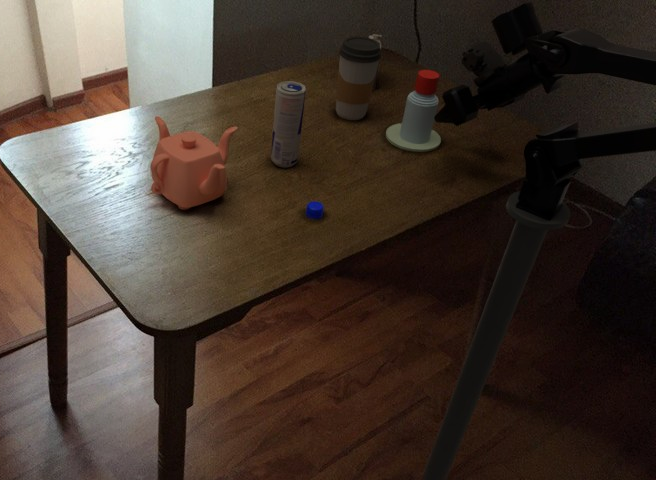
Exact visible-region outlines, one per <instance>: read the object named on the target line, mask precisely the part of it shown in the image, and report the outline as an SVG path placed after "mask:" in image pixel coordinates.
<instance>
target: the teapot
mask: <svg viewBox="0 0 656 480" xmlns="http://www.w3.org/2000/svg"><path fill="white" fill-rule="evenodd" d="M154 120H155V122H156V124H157V127H158V132H159V137H158V139H159V140H158V142H157V143H156V147H155V149H154V153H153V157H152V160H151V162H150V166H149V167H150V172H151V173H150V174H151V179H152V182H153V183H151V187H150V190H151V191H152V193H153V194H155V195H161V194H162V196H164V198H166V199H167V200H169V201H170V202H172V203H174V204H175V205H177V207H178V209H180V210H182V211H183V210H184V211H185V210H190V209H191V208H193V207H196V206H200V205H203V204H205V203H208V202H212V201H214V200H217V199H218V198H220V197H222V196H223V195H224V193H225V191H226V189H227V186H228V178H227V177H228V176H227V171H226V163H227V160H228V157H229V149H230V141H231V138H232V136H233V134H234V133H235V132H236V131H237V130H238V126H231V127H229V128H227V129H226V130H225V131H224V132H223V134H222V135H221V137H220V140H219V142H218V145H216V144H215V143H214V142H212V141H211V140H210V139H209V138H207V137H205V136H204V135H203V134H201V133H199V132H196V131H193V130H188V131H184V132H180V133H176V134H173V135H171V133H170V131H169V128H168V126H167V124H166V122H165V120H164V119H163V118H162V117H160V116H157V115H155V116H154Z"/></svg>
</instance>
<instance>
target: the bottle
mask: <svg viewBox="0 0 656 480" xmlns="http://www.w3.org/2000/svg"><path fill="white" fill-rule="evenodd" d="M438 106H439V98H438V96H437V95H436V93H435V94H433V95H423V94H420V93H418V92H416V91H415V90H413V91H411V92H410V93H409V94H407V98H406V102H405V107H404V112H403V117H402V120H401V123H402V125H401V130H400V137H401V138H402V139H403V140H405V141H407V142H410V143H416V144H422V143H426V142H428V141H429V139H430V135H431V131H432V130H433V127H434V122H435V119H434V117H435V115H436V114H437V111H438Z"/></svg>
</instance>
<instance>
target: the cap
mask: <svg viewBox="0 0 656 480" xmlns="http://www.w3.org/2000/svg"><path fill="white" fill-rule="evenodd" d="M439 79H440V74H439V73H438V72H437V71H434V70H431V69H421V70H419V71H418V73H417V76H416V80H415V86H414V91H416V92H418V93H420V94H423V95H433V94H435V95H436V92H437V88H438V85H439Z"/></svg>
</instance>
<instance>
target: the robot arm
mask: <svg viewBox="0 0 656 480" xmlns="http://www.w3.org/2000/svg"><path fill="white" fill-rule="evenodd" d="M490 23H491V25H492V27H493V30H494V32H495V35H496V37H497V39H498V42H499V44H500V47H501V49H502V51H503V53H504V54H505V56H506V55H509V54H511V56H513V57H514V56H517V55H520V54H521V53H523V52H526V51H527V53H525V54H523V55H521V56H520V57H518V58H516V59H514V60H512V61H509V62H507V63H506V62H505V61H504V60H503V57H502V55H501V54H500V53H499V52H498V51H497V50H496V48H494V47H493V46H492V44H491V43H490V42H489V41H486V40H485V41H480V42H478V43H475V44H472V45H471V47H469V48H468V49H467V50H466V51H463V52H462V58H461V64H462V65H463V67H464V68H465V69H466V71H468V72H470V73H471V72H472V73H473V74H474V75H475V76H476V77H475V78H473V82H474V85H475V87H477V88H476V90H477V94H475V95H473V93H472V91H471V89H470V87H469V86H468V85H466V84H463V83H462V84H460V85H456V86H453V87H451V88H449V89H448V90H445V91H444V92H442V95H441V98H442V100H443V102H444V105H443V107H441V108H440V110H439V111H438V112H436V115H435V117H434V122H435V123H437V124H438V123H439V124H440V123H441V124H453V125H454V126H456V127H458V126H461V125H463V124H466V123H468V122H470V121H472V120H475V119H476V118H477V117H478V116H479V115H478V114H479V110H487V111H488V112H490V111H491V110H494V109H499V108H504V107H506V106H509V105H512V104H515V103H517V102H519V101H521V100H523V99H525V97H526V94H528V93H529V92H530V91H533V90H534V89H536V88H538V87H540V86H542V87H543V90H544V92H545V94H550V93H553V92H556V91H557V90H560V89H561V87H562V83H563V78H565V76H564V75H583V74H584V75H585V74H601V75H605V76H609V77H615V78H619V79H624V80H627V81H632V82H636V83H637V82H638V83H641V84H647V85H651V86H656V51H651V50H646V49H641V48H635V47H630V46H625V45H620V44H615V43H614V42H610V41H608V40H607V39H606V38H605V37H604V36H602V35H600V34H598V33H595V32H592V31H590V30H587V29H585V28H574V29H570V30H567V31H564V30H560V29H553V28H552V29H548V30H546V31H544V30H543V27H542V26H541V23H540V21H539V19H538V16H537V14H536V9H535V6H534V4H533V2H532V1H531V0H530V1H526V2H524V3H522V4H520V5H518V6H517V7H515V8H514V7H513V8H512V9H509V10H508V11H506V12H503V13H500V14H499V15H497V16H496V17H494V18H493V19H492V20H491V21H490ZM648 152H656V122H650V123H649V122H648V123H642V124H635V125H627V126H622V127H615V128H608V129H607V128H606V129H601V130H593V131H584V130H580V129H579V122H578V121H576V122H572V123H569V124H563V125H562V124H555V125H553V126H551V127H549V128H547V129H545V130H543V131H540V132H539V133H537V134H535V137H534V138H532V139H530V140H529V141H527V143H526V145H525V146H524V149H523V158H524V160H525V178H524V180H523V183H522V185H521V188H520V190H519V191H520V194H519V196H518V200H520V201H519V202H518V203H517V204H516V207H517V208H519V209H521V210H524V211H526V212H528V213H531V214H533V215H536V216H538V217H540V218H543V219H545V220H548V221H551V220H552V219H553V217H554V216H555V215H556V214H557V213H558V212H559V211H560V210H561V208H562V207H563V204H562V202H564V199H565V196H566V194H567V191H568V189H569V187H570V185H571V182H572V180H571V179H570V178H572V177H575V176H577V174H578V173H579V172H581V170H582V169H583V166H582V164H581V161H580V160H585V159H594V158H603V157H613V156H621V155H630V154H638V153H639V154H640V153H648Z"/></svg>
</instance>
